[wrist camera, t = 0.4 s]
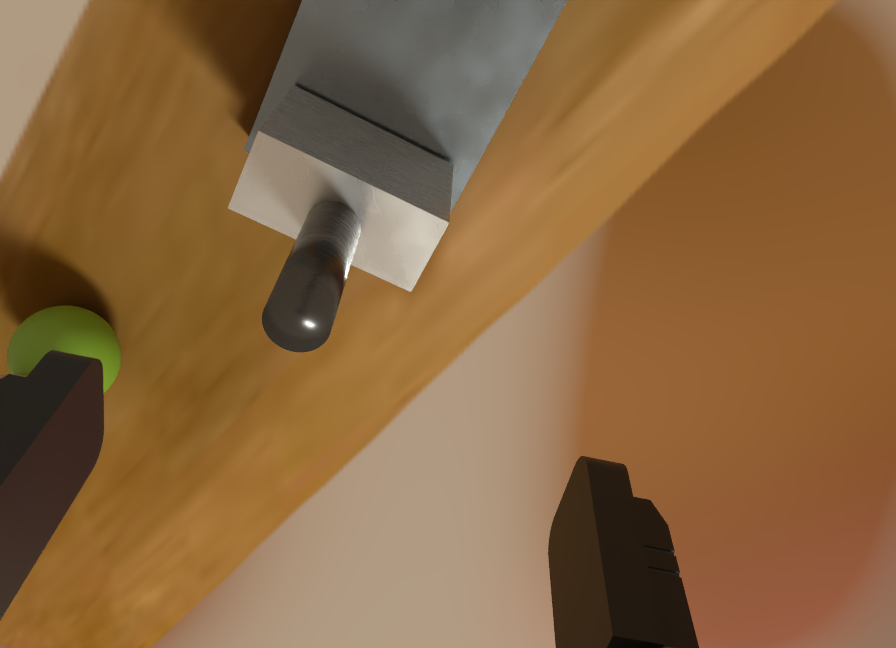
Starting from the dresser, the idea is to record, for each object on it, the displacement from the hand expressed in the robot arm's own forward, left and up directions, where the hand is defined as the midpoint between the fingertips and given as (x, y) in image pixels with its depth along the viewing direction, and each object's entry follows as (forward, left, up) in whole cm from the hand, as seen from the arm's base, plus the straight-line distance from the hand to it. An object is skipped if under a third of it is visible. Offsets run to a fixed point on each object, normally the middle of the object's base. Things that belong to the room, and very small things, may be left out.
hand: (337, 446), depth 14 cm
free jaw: (+5, -1, -26) cm, 26 cm away
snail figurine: (+22, -10, -28) cm, 36 cm away
